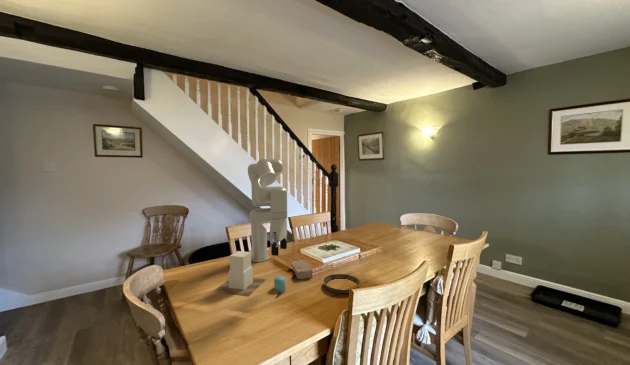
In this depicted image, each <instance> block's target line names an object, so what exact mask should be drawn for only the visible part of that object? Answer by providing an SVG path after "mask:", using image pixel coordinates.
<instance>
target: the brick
mask: <svg viewBox="0 0 630 365" xmlns="http://www.w3.org/2000/svg"><path fill="white" fill-rule="evenodd" d="M291 266H292V267H293V269H294V270H295V274H294V276H295V275H296V276H295V277H296V279H297V280H305V279H306V280H307V278H308V279H310V278H311V279H312V278H313V269H312V268H311V266H309V265H308V263H307V262H306V261H305V260H304V259H303V260H302V259H301V260H296V261H295V260H294V261H291V262H290V267H291Z"/></svg>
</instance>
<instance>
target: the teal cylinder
mask: <svg viewBox="0 0 630 365" xmlns="http://www.w3.org/2000/svg"><path fill="white" fill-rule="evenodd" d="M273 288H274V290H275V291H278V292H277V294H278V295H281V293H282V294H284V293H286V277H285V276H281V275H278V276H276V277H274V279H273Z"/></svg>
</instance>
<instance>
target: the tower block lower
mask: <svg viewBox="0 0 630 365" xmlns="http://www.w3.org/2000/svg"><path fill="white" fill-rule="evenodd" d="M253 268H254V266H253V265H251V267H250V268H248V269H247V270H246V271H244V272H238V271H230V269H229V270H228V280H229V288H235V289H242V290H245V289H246V288H247V287H248V286H249V285H250V284H251V283H253V277H254V274H253V273H254V272H253V271H254V270H253Z"/></svg>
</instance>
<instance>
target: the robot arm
mask: <svg viewBox="0 0 630 365" xmlns="http://www.w3.org/2000/svg"><path fill="white" fill-rule="evenodd" d="M283 165H284V164H283V162H282V161H281V160H280V159H276V158H275V159H274V158H273V159H272V158H264V159H263V158H262V159H260V160H258V161H257V162H256V163H251V164H249V165H248V167H247V176H248V178H249V181H250V185H251V204H252V206H254V207H261V208H254V209H252V210H250V212H249V220H250V231H251V232H250V233H251V234H250V235H251V239H250V240H251V262H254V263H259V262H260V263H262V262H266V261H268V260H269V259H270V257H271V256H273V257H274V256H275V257H279V249H281V250H287V247H288V246H287V245H288V244H287V243H288V242H287V240H288V237H287V236H288V224H287V219H288V190H287V189H286V188H284V187H283V186H271V185H273V183H275V182H276V180H277V177H278V176H280V175H281V174H282V173H283V169H284V166H283ZM262 207H263V208H262ZM264 207H265V208H264ZM265 224H270V225H269V241H270V243H269V244H270V247H271V253H270V254H271V256H270V254H268V252H269V250H270V248H268V232H267V231H268V230H267V228H266V227H265V226H264V225H265Z"/></svg>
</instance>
